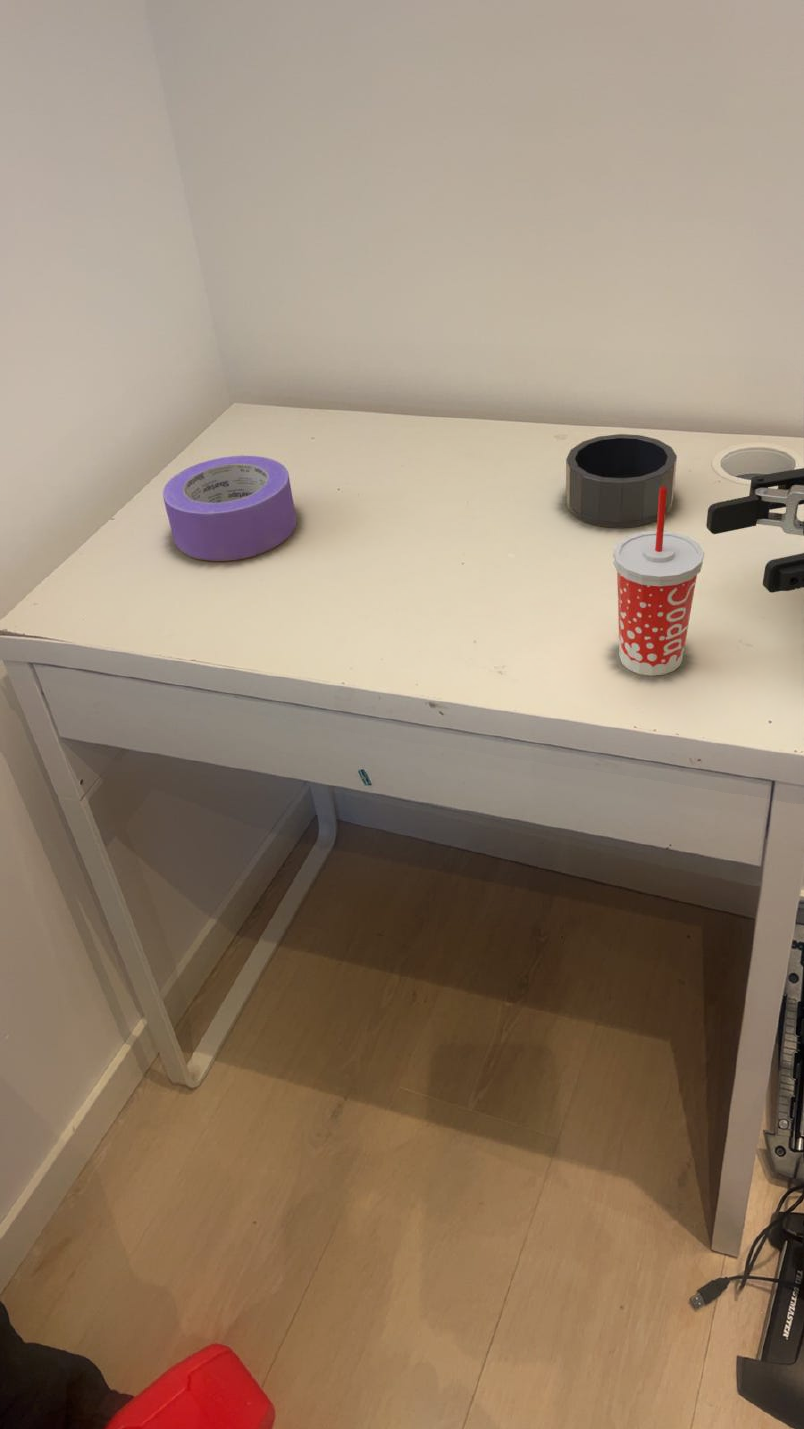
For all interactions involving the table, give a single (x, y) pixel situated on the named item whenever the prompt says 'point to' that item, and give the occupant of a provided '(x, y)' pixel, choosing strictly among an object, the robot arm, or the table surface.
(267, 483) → the tape roll
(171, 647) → the table surface
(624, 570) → the beverage cup
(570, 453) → the socket
